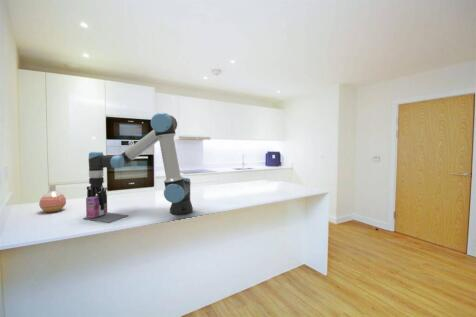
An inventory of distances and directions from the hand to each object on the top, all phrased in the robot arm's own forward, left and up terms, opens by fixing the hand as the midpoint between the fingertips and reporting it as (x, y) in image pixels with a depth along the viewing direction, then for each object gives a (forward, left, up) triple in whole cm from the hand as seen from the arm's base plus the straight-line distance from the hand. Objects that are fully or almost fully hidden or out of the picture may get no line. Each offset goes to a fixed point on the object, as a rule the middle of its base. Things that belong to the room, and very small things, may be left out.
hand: (97, 214), depth 139 cm
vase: (+37, +1, -2) cm, 37 cm away
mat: (-6, -1, -2) cm, 6 cm away
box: (0, 0, -1) cm, 1 cm away
